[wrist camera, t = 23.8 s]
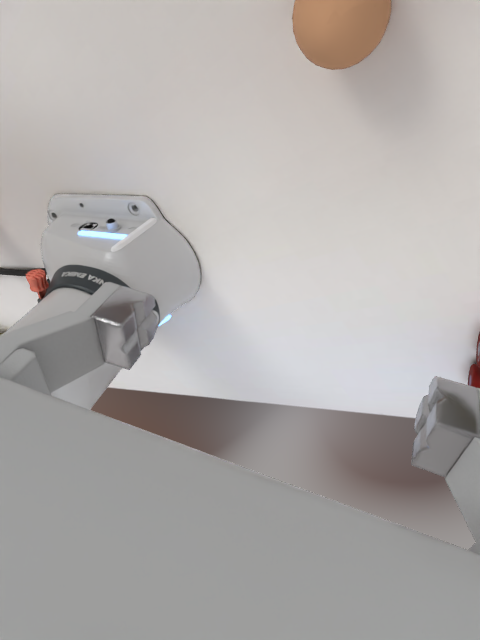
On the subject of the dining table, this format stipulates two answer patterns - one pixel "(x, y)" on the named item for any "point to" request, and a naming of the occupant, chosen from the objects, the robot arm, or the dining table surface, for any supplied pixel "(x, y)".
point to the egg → (339, 29)
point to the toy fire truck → (475, 369)
